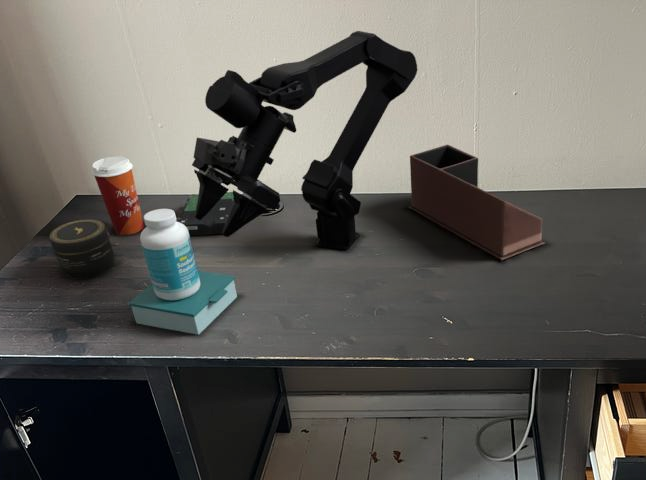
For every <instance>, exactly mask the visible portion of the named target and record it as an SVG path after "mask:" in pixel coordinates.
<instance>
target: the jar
mask: <svg viewBox="0 0 646 480" xmlns="http://www.w3.org/2000/svg"><path fill="white" fill-rule="evenodd" d="M48 239H49V244H50V246H51V250H52V251H53V253H54V256H55V259H56V262H57V264H58V267H59V269H60V270H61V271H62V273H63V274H64V275H65V276H66V277H69V278H71V279H73V280H74V279H75V280H87V279H92V278H96V277H98V276H102V275H103V274H105V273H107V272H108V271H110V270H111V268H112V267H113V265H114V264H115V251H114V249H113V245H112V243H111V239H110V233H109V231H108V228H107V227H106V225H105V223H104V222H103V221H100V220H97V219H79V220H74V221H70V222H67V223H63V224H61V225H59V226H58V227H56V228H54V229H53V230H52V231H51V232H50V234H49V236H48Z"/></svg>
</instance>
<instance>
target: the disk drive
mask: <svg viewBox="0 0 646 480" xmlns="http://www.w3.org/2000/svg"><path fill="white" fill-rule="evenodd" d="M198 195H199V194H195V193H193V194H191V195H190V196H189V197H188V198H187V199H186V202H185V204H184V206H183V208H182V209H181V212H180V213H179V215H178V218H177V219H176V222H180V223H182V224H183V225H185V226H186V228H187V229H188V231H189V235H190V236H202V235H219V234H221V235H222V232H223V229H224V226H225V224H226V222H227V219H228V217H229V215H230V212H231V210H232V208H233V206H234V196H233V191H231V192H230V191H227V192H226V194H225V195H224V196H223V197H222V198H221V199H220V200H219V201H218V202H217V204H216V205H215V206H214V207H213V208H212V209H211V210H210V211H209V212H208V214H207V215H206V216H205V217H203V218H202V219H201V220H198V219H196V218H195V212H196V206H197V201H198Z"/></svg>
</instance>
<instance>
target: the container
mask: <svg viewBox="0 0 646 480" xmlns="http://www.w3.org/2000/svg"><path fill="white" fill-rule="evenodd" d="M198 274H199V279H200V288H199V289H198V291H197V292H196V293H195V294H193V295H192V296H190V297H187V298H184V299H180V300H164V299H161V298H159V297H158V296H157V295H156V294H155V292H154V288H153V285H152V283H151V284H150V285H148V286H147V287H145V288H144V290H142V291H141V292H140V293H139V294H138V295H136V296H135V297H134V298H132V300H130V301H129V302H128V306H130V308H131V310H132V313H133V316H134V320H135V323H136V324H139V325H144V326H149V327H155V328H159V329H165V330H170V331H177V332H180V333H181V332H182V333H186V334H191V335H197V336H199V335H200V334H201V333H202V332H203V331H204V330H206V328H207V327H208V326H210V324H212V322H214V321H215V320H216V319H217V317H218V316H220V314H221V313H222V312H224V311H225V310H226V308H228V307H229V306H230V304H232V303H233V302H234V301H235V300H236V299H237V298H238V295H237V289H236V285H235V279H236V277H235V275H229V274H222V273H216V272H211V271H210V272H209V271H203V270H198Z"/></svg>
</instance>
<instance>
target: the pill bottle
mask: <svg viewBox="0 0 646 480" xmlns="http://www.w3.org/2000/svg"><path fill="white" fill-rule="evenodd" d="M143 221H144V225H145V227H144V228H143V229H142V230H141V232H140V236H139V241H140V244H141V248H142V252H143V255H144V259H145V263H146V266H147V270H148V273H149V277H150V280H151V284H152V285H153V288H154V292H155V294H156V295H157V296H158V297H159V298H161V299H164V300H180V299H184V298H187V297H190V296H192V295H193V294H195V293H196V292H197V291H198V289H199V288H200V279H199V274H198V271H199V270H198V266H197V262H196V258H195V253H194V249H193V244H192V239H191V235H189V231H188V229H187V228H186V226H185V225H183V224H182V223H180V222H176V221H177V216H176V212H175V210H173V209H171V208H157V209H154V210H150V211H148V212H146V213H145V214H144V215H143Z"/></svg>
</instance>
